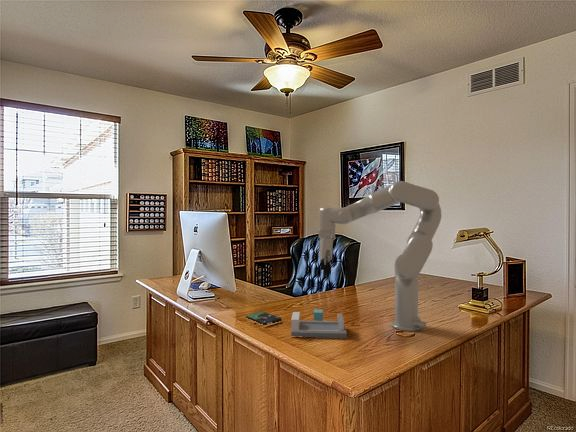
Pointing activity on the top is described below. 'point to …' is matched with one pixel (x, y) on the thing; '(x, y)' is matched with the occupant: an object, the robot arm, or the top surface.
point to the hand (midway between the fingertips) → (325, 271)
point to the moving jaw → (340, 322)
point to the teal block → (318, 314)
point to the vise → (315, 328)
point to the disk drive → (263, 318)
